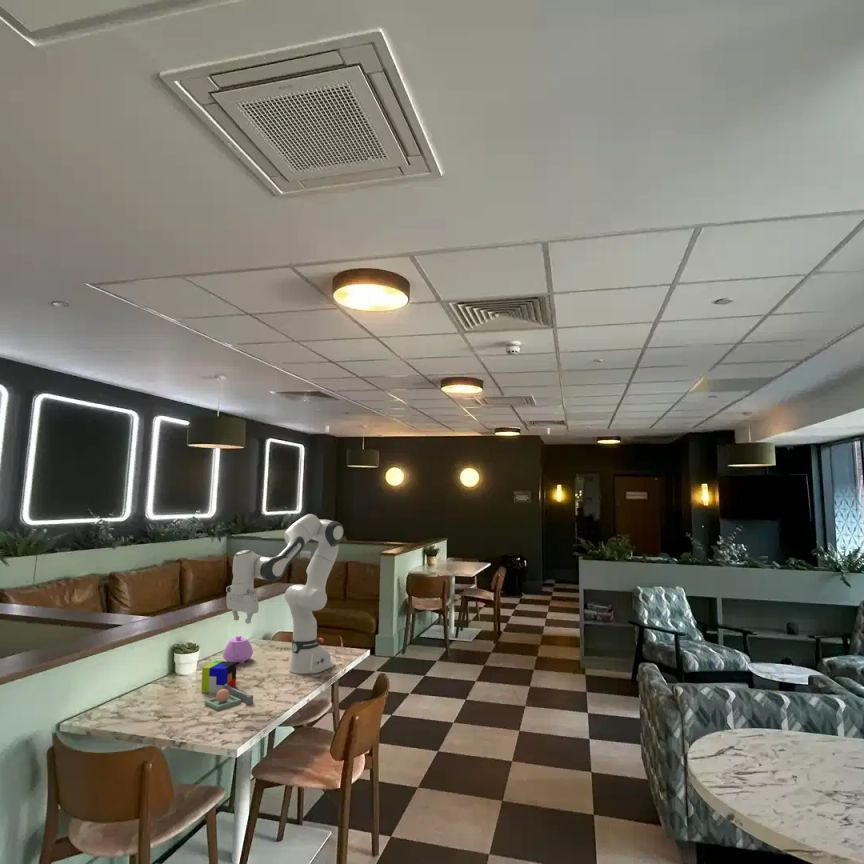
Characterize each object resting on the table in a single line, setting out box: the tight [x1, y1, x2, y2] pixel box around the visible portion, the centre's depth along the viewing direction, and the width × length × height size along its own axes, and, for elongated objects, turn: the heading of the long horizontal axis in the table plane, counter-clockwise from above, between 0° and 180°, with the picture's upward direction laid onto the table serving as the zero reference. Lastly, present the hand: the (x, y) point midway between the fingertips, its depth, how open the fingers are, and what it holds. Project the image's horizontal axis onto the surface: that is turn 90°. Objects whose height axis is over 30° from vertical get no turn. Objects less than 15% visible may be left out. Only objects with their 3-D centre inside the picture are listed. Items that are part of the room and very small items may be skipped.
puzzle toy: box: [201, 660, 238, 694], centre depth 242 cm, size 10×10×10 cm
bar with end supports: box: [223, 685, 254, 706], centre depth 229 cm, size 2×19×3 cm, turn 49°
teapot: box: [222, 635, 254, 665], centre depth 281 cm, size 20×14×12 cm
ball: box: [216, 689, 230, 703], centre depth 224 cm, size 5×5×5 cm
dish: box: [204, 695, 242, 711], centre depth 223 cm, size 10×10×2 cm
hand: (242, 621), depth 241 cm, fingers open, 8 cm apart
